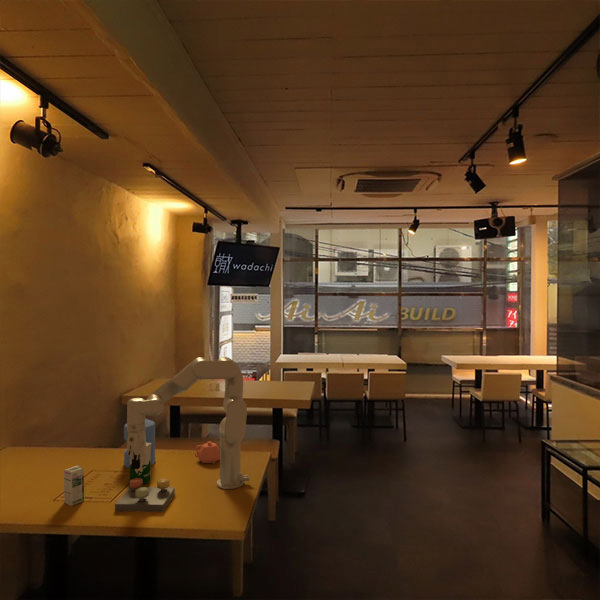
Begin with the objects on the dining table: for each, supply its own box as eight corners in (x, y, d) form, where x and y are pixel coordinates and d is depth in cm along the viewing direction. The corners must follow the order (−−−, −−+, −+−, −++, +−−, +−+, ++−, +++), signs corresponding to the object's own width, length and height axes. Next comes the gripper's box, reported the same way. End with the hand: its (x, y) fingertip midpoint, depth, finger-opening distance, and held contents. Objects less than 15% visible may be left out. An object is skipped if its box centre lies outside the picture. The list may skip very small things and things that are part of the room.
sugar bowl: (218, 465, 231) (218, 446, 231) (191, 465, 231) (192, 445, 231) (223, 456, 243) (223, 438, 243) (197, 456, 243) (197, 438, 243)
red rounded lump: (144, 489, 197) (144, 478, 197) (139, 494, 192) (139, 483, 192) (132, 489, 197) (132, 478, 197) (127, 494, 192) (127, 483, 192)
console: (174, 494, 198) (174, 487, 198) (163, 511, 182) (163, 504, 182) (130, 493, 198) (130, 486, 198) (114, 511, 182) (114, 503, 182)
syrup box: (71, 506, 186) (71, 472, 186) (63, 502, 189) (63, 469, 189) (84, 501, 191) (84, 467, 190) (76, 497, 194) (76, 464, 194)
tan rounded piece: (170, 489, 197) (171, 478, 197) (167, 495, 191) (167, 483, 191) (159, 489, 197) (159, 478, 197) (155, 494, 192) (155, 483, 191)
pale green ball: (150, 498, 188) (150, 487, 188) (145, 504, 183) (145, 492, 182) (138, 498, 188) (138, 487, 188) (133, 504, 183) (133, 492, 183)
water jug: (143, 455, 243) (143, 405, 243) (161, 462, 234) (161, 409, 234) (117, 464, 231) (117, 411, 230) (135, 471, 222) (135, 416, 221)
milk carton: (136, 477, 215) (136, 437, 214) (153, 479, 213) (153, 438, 212) (126, 485, 206) (126, 443, 206) (143, 487, 204) (143, 444, 204)
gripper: (138, 432, 186) (137, 475, 187) (150, 422, 201) (150, 462, 202) (120, 432, 186) (120, 475, 187) (134, 421, 201) (134, 461, 202)
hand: (135, 468), depth 194 cm, fingers closed
